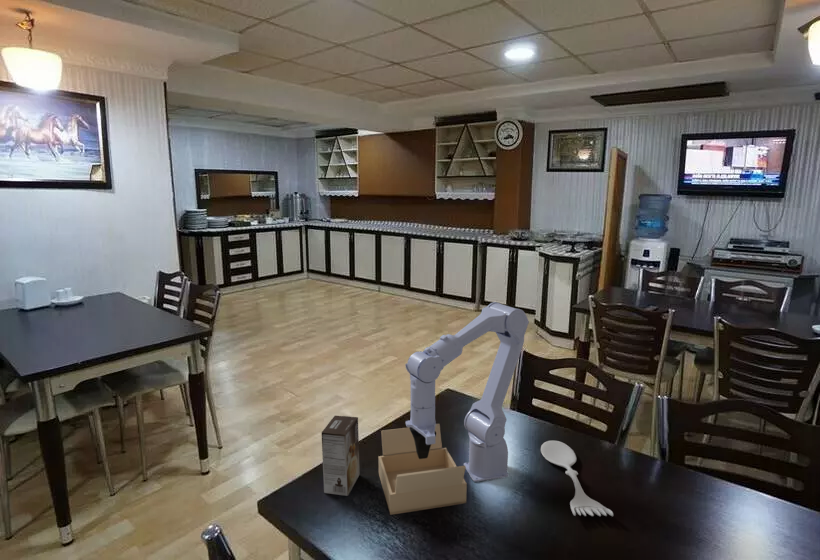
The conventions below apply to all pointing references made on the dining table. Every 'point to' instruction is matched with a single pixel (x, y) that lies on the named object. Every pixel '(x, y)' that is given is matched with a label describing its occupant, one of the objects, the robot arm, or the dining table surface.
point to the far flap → (404, 440)
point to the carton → (422, 498)
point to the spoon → (566, 458)
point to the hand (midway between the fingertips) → (422, 457)
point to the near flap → (429, 479)
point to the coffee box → (340, 455)
